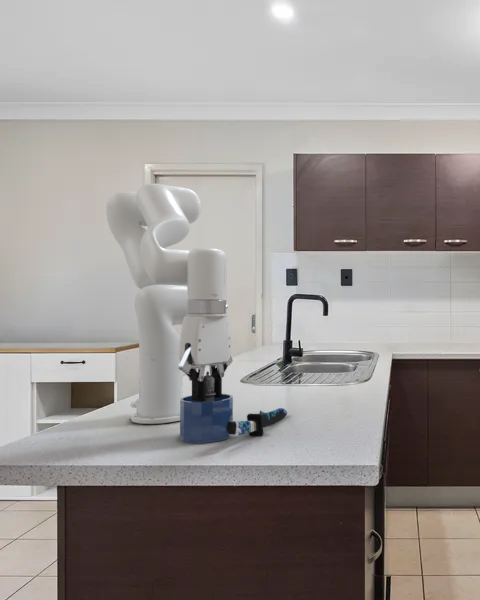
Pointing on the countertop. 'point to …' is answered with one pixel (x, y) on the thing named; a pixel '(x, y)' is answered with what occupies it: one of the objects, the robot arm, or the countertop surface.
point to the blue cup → (205, 419)
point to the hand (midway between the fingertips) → (206, 397)
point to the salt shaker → (209, 388)
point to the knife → (255, 423)
